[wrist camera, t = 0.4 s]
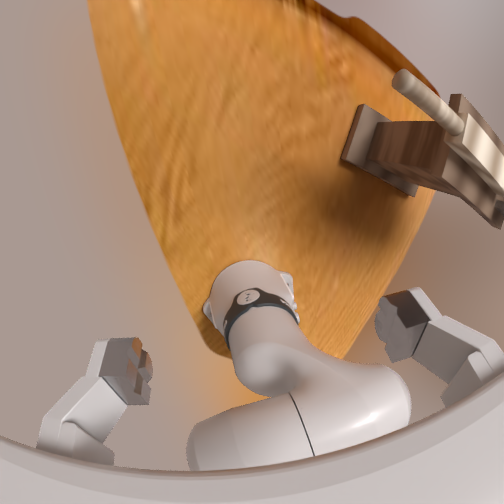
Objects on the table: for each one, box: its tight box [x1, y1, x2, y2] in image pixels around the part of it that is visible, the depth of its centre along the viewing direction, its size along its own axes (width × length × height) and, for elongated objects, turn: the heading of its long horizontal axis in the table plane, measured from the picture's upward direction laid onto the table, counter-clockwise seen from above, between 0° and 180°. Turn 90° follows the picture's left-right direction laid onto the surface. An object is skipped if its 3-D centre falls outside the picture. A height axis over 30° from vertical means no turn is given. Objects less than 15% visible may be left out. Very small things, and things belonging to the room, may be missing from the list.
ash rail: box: [392, 69, 504, 197], centre depth 24 cm, size 26×4×3 cm, turn 70°
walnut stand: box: [341, 94, 504, 229], centre depth 40 cm, size 20×12×26 cm, turn 70°
